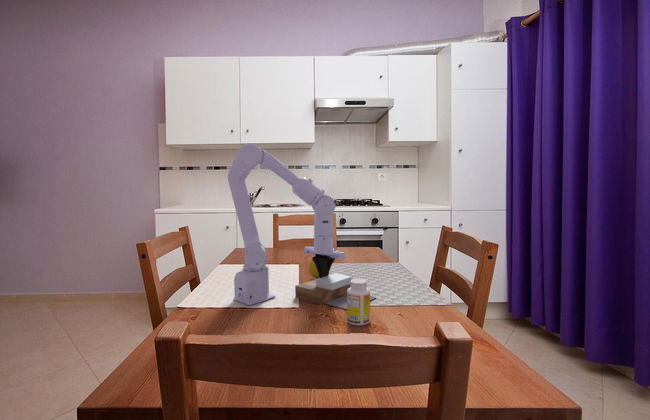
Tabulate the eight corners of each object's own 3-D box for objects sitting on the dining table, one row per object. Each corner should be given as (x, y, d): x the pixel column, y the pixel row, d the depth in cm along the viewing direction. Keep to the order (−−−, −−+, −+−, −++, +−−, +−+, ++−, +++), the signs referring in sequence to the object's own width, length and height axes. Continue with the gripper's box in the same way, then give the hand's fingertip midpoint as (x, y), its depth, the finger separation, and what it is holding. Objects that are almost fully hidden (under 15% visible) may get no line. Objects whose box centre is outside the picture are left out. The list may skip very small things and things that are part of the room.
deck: (320, 304, 103) (320, 292, 102) (295, 297, 109) (295, 285, 109) (355, 291, 115) (355, 280, 114) (330, 285, 121) (330, 274, 121)
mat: (348, 310, 98) (348, 309, 98) (325, 303, 104) (325, 302, 104) (376, 298, 108) (376, 297, 108) (354, 292, 113) (354, 291, 113)
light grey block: (331, 290, 104) (331, 283, 104) (316, 286, 108) (316, 279, 108) (351, 283, 111) (351, 276, 111) (335, 279, 115) (335, 273, 115)
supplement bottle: (367, 317, 94) (367, 277, 93) (372, 326, 88) (372, 283, 87) (345, 318, 93) (345, 278, 92) (348, 327, 88) (349, 284, 87)
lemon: (306, 278, 129) (306, 255, 129) (321, 276, 132) (320, 254, 131) (312, 282, 124) (312, 258, 124) (327, 280, 127) (327, 257, 126)
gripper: (351, 235, 109) (351, 281, 111) (314, 231, 119) (315, 273, 120) (335, 239, 104) (336, 286, 105) (299, 233, 114) (299, 277, 115)
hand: (323, 279), depth 112 cm, fingers closed
